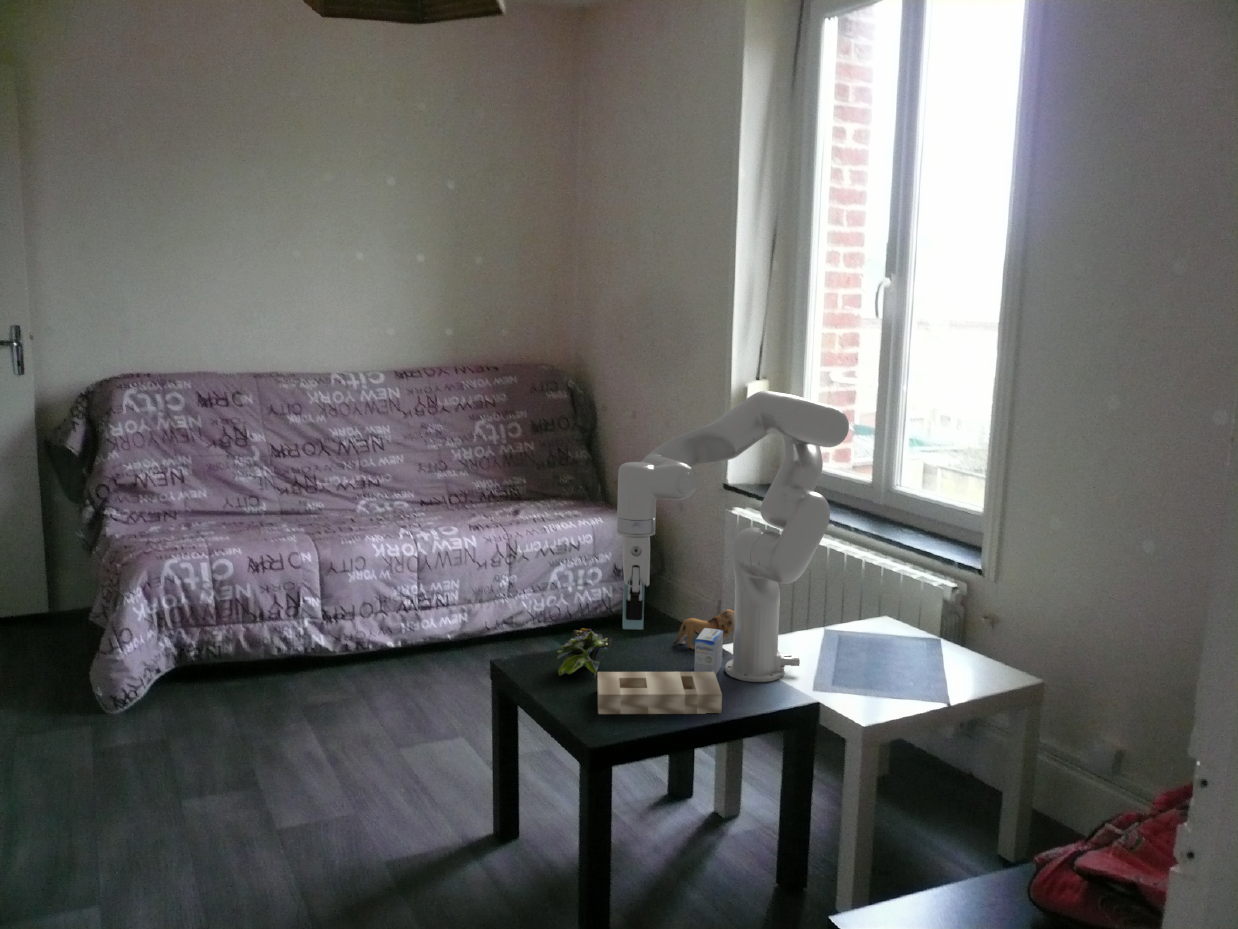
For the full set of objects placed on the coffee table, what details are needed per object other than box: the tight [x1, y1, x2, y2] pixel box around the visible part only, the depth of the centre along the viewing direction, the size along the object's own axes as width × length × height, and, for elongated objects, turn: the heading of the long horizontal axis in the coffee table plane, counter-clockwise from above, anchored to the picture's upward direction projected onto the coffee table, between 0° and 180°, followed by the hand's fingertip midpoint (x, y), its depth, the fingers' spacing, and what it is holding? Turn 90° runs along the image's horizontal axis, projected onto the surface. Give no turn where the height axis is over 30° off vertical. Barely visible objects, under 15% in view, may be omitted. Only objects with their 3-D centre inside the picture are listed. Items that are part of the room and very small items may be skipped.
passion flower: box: [557, 628, 613, 679], centre depth 229 cm, size 11×11×12 cm
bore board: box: [596, 671, 723, 715], centre depth 214 cm, size 24×12×4 cm, turn 92°
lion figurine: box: [671, 608, 734, 650], centre depth 246 cm, size 15×5×9 cm, turn 89°
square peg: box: [622, 580, 646, 630], centre depth 212 cm, size 4×4×10 cm
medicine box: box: [693, 628, 724, 676], centre depth 230 cm, size 8×4×9 cm, turn 162°
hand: (633, 615), depth 212 cm, fingers closed on square peg, 4 cm apart
